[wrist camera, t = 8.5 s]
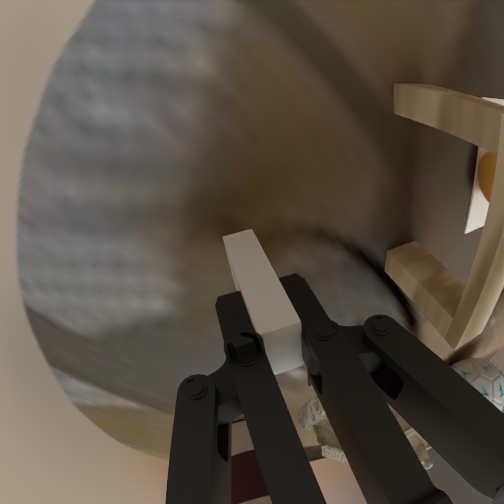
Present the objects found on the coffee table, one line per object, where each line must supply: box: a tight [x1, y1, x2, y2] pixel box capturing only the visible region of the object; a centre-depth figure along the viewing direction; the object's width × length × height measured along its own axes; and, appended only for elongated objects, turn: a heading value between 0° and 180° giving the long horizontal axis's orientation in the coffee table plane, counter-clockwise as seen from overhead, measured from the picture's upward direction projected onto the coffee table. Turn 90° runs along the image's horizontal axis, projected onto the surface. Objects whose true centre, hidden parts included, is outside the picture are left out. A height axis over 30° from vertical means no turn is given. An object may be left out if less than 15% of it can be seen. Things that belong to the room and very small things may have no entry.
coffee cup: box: [231, 420, 272, 504], centre depth 27 cm, size 10×10×15 cm
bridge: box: [384, 83, 504, 351], centre depth 16 cm, size 3×14×9 cm, turn 9°
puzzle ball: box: [450, 358, 504, 412], centre depth 38 cm, size 15×15×15 cm
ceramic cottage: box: [298, 396, 433, 469], centre depth 32 cm, size 16×16×15 cm
